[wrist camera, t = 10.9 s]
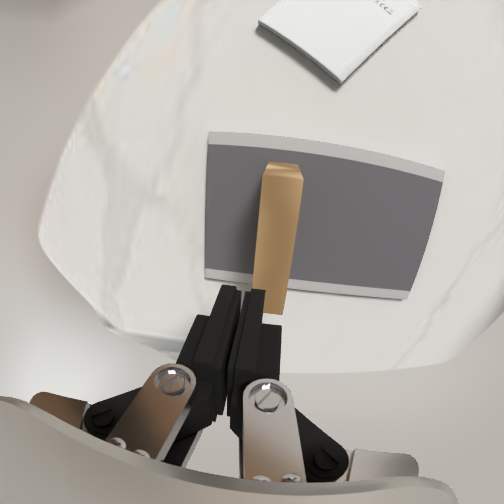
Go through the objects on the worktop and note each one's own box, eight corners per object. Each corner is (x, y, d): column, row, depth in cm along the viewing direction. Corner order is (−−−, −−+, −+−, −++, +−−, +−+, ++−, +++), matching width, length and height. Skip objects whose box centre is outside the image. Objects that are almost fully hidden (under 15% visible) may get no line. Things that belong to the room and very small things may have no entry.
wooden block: (297, 164, 20) (303, 179, 14) (283, 268, 24) (282, 315, 18) (269, 161, 20) (262, 174, 14) (258, 265, 24) (249, 310, 18)
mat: (441, 170, 19) (444, 171, 18) (404, 296, 24) (406, 299, 24) (210, 131, 20) (208, 131, 19) (206, 274, 26) (205, 277, 25)
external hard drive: (258, 26, 16) (345, -42, 11) (338, 85, 18) (417, 12, 13) (257, 19, 15) (348, -50, 10) (342, 82, 16) (424, 6, 11)
